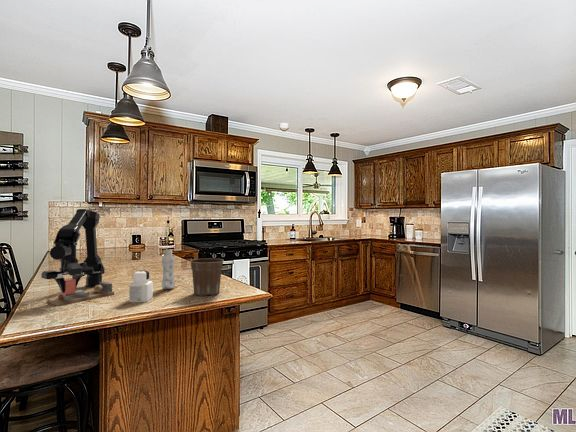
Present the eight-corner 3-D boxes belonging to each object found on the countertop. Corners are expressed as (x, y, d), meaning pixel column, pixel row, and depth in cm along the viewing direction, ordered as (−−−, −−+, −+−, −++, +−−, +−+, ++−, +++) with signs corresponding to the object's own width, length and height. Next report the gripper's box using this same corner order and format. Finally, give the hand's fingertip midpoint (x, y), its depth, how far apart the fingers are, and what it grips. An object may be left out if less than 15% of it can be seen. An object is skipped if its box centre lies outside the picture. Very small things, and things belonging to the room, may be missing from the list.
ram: (80, 294, 155) (80, 276, 155) (85, 295, 152) (85, 277, 152) (61, 297, 148) (61, 279, 148) (65, 299, 146) (65, 280, 146)
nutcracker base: (103, 291, 166) (103, 281, 166) (114, 294, 160) (114, 283, 160) (47, 302, 146) (47, 290, 146) (57, 306, 141) (57, 293, 141)
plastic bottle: (177, 288, 175) (177, 249, 174) (169, 291, 168) (169, 251, 168) (167, 287, 177) (167, 249, 176) (158, 290, 170) (158, 250, 170)
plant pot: (199, 288, 175) (199, 257, 174) (228, 290, 171) (228, 258, 171) (183, 296, 159) (183, 262, 158) (215, 298, 155) (215, 263, 155)
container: (135, 297, 155) (135, 269, 155) (152, 297, 156) (152, 269, 155) (129, 302, 147) (129, 272, 147) (147, 302, 148) (147, 272, 148)
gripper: (52, 260, 136) (52, 299, 136) (99, 255, 152) (99, 290, 152) (40, 258, 142) (40, 295, 143) (87, 253, 158) (87, 287, 158)
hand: (68, 291), depth 149 cm, fingers closed on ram, 4 cm apart
